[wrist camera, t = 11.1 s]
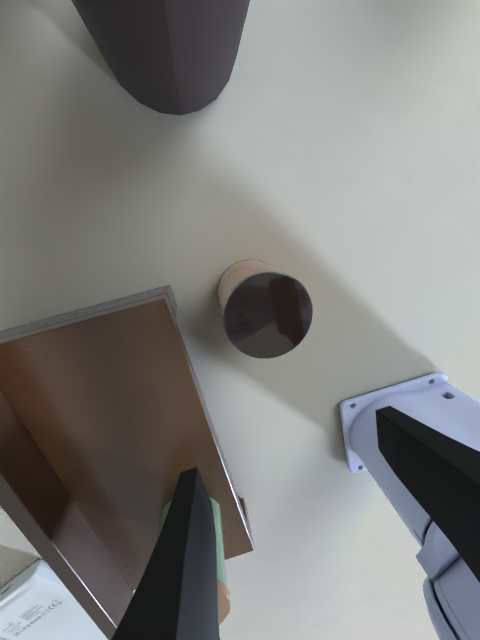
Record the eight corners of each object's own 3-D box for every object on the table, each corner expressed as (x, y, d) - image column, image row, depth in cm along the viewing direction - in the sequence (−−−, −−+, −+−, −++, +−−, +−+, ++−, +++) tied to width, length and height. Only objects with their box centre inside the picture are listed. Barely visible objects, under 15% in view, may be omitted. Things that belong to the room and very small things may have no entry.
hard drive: (89, 647, 29) (-23, 605, 25) (147, 606, 29) (42, 555, 24) (83, 670, 28) (-37, 630, 24) (144, 627, 27) (31, 578, 23)
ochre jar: (275, 250, 19) (305, 261, 13) (287, 313, 20) (318, 344, 15) (207, 268, 18) (212, 286, 13) (225, 331, 20) (236, 369, 15)
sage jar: (212, 483, 20) (218, 575, 15) (228, 525, 21) (239, 621, 16) (148, 504, 20) (131, 604, 14) (170, 545, 21) (161, 648, 16)
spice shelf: (170, 284, 18) (157, 314, 12) (247, 509, 26) (262, 593, 20) (-1, 331, 18) (-98, 385, 12) (130, 547, 25) (111, 644, 20)
